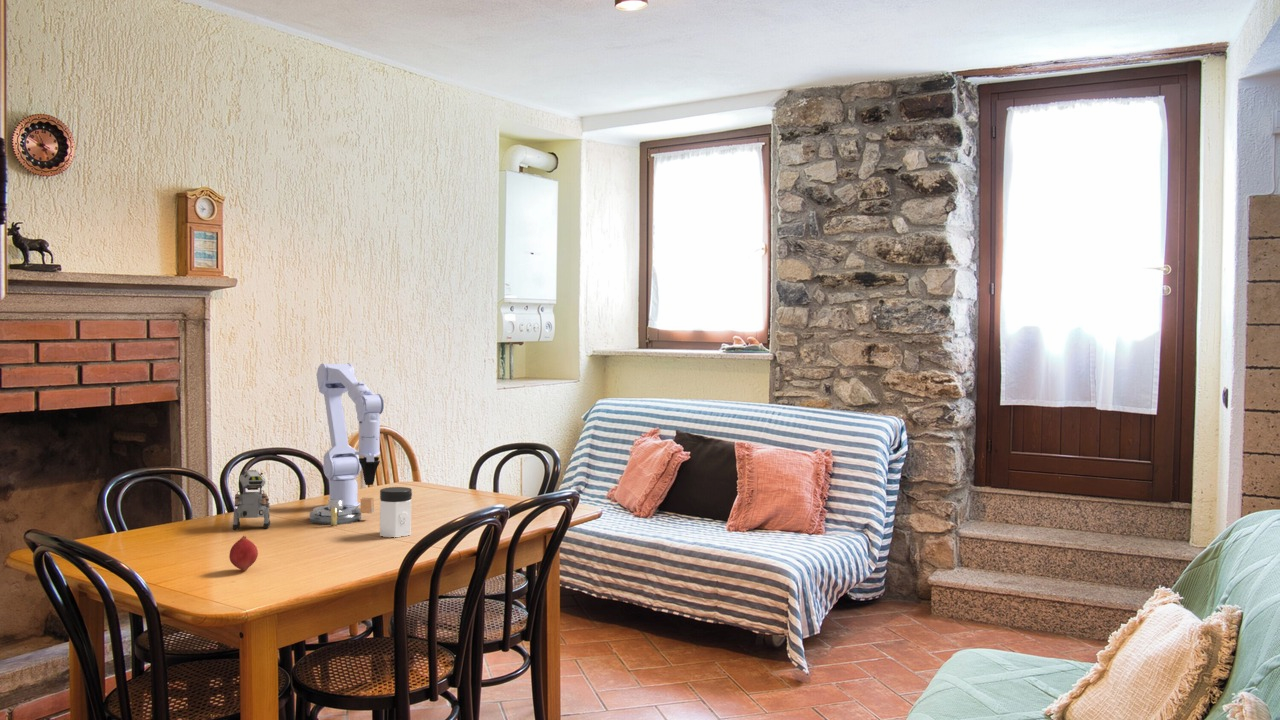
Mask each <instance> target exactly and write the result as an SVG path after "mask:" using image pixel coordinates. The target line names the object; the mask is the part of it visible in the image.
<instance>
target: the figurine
mask: <svg viewBox="0 0 1280 720" xmlns="http://www.w3.org/2000/svg"><path fill="white" fill-rule="evenodd" d="M240 474H241V475H239V476H238V479H239V482H240V483H241V485H242V489H243V491H241V490H237V492H236V494H235V495H234V507H236V508H234V510H233V517H232V518H233V522H232V530H234V531H237V530H238V529H239V528H240V526H241V521H240V519H254V518H257V519H258V518H263V527H262V528H263V529H269V527H270V525H271V520H270V508H271V507H270V504H271V503H270V502H269V500H270V498H269V496H268V495H267V493H265V491H264V490H263V487H264V486H265V485H266V482H267V481H266V479H265V478H264V477H263V474H264V473H263V472H258V470H256V469H246V470H244V471H242V472H241V473H240ZM246 489H247V491H246ZM258 490H259V491H258ZM239 492H240V493H239Z"/></svg>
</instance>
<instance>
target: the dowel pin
mask: <svg viewBox="0 0 1280 720" xmlns="http://www.w3.org/2000/svg"><path fill="white" fill-rule="evenodd" d="M331 526H336V527H338V524H337V508H331V525H330V527H331Z"/></svg>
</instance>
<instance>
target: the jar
mask: <svg viewBox="0 0 1280 720" xmlns="http://www.w3.org/2000/svg"><path fill="white" fill-rule="evenodd" d="M412 497H413V490H412V488H410V487H406V486H392V487H391V486H390V487H385V488H381V489H380V491H379V500H380V501H379V503H380V504H379V509H380V510H379V513H380V514H379V537H381V536H383V537H382V538H391V537H394V538H393V539H396V538H395V537H398V538H402V537H401V536H404V537H409V536H408V535H410V536H411V535H412V500H413V499H412Z"/></svg>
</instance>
